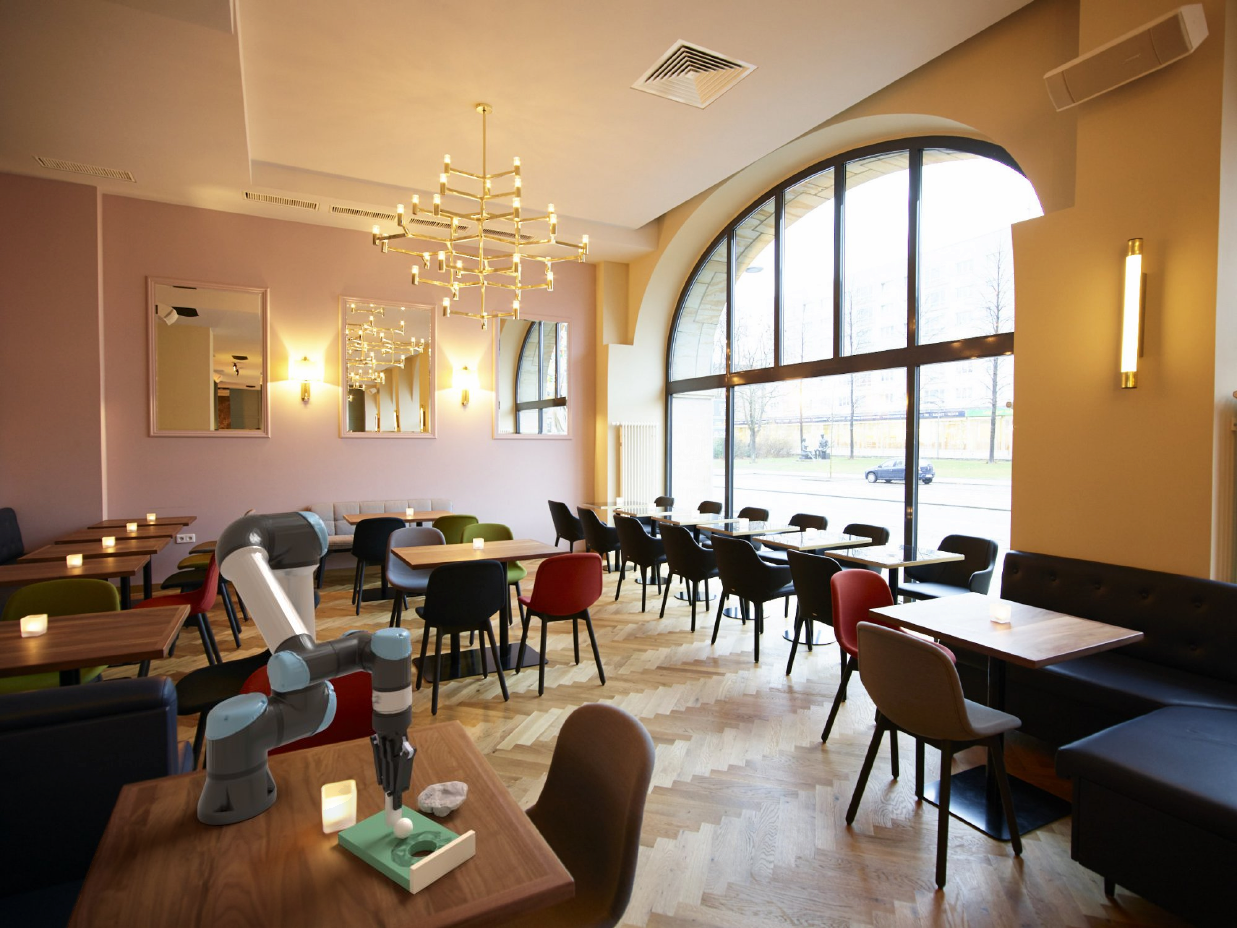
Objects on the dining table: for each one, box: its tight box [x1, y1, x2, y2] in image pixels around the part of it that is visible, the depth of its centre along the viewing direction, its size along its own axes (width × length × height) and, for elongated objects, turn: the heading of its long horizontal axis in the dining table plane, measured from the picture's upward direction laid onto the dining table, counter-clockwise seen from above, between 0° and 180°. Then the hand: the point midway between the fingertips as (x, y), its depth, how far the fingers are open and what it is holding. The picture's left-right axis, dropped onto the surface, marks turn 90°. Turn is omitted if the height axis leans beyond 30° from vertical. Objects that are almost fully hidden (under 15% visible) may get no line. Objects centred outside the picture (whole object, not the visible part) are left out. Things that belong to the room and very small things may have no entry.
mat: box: [337, 803, 476, 895], centre depth 125 cm, size 25×14×4 cm, turn 53°
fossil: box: [416, 780, 469, 818], centre depth 139 cm, size 9×6×10 cm
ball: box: [394, 818, 413, 839], centre depth 125 cm, size 4×4×4 cm
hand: (393, 823), depth 127 cm, fingers closed
